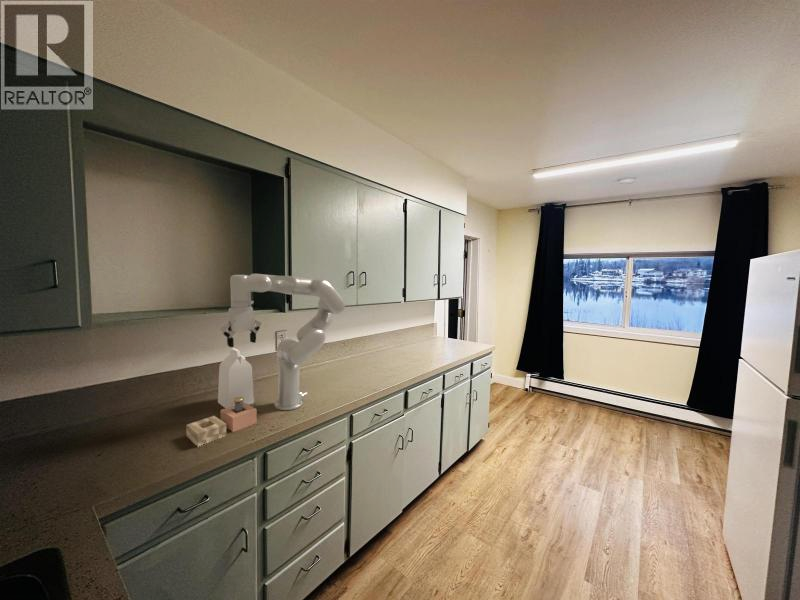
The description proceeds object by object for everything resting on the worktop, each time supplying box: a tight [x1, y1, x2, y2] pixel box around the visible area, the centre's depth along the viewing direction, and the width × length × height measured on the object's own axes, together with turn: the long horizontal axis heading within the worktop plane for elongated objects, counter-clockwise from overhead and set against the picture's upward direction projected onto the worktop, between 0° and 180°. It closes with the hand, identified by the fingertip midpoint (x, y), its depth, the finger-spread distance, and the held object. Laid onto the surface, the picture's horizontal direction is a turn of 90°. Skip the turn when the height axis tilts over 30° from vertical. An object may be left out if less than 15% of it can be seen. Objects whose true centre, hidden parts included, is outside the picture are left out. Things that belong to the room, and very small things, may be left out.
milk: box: [217, 347, 255, 409], centre depth 153 cm, size 12×12×26 cm
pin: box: [234, 397, 244, 413], centre depth 135 cm, size 4×4×11 cm
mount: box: [185, 415, 227, 448], centre depth 124 cm, size 10×10×5 cm
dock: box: [220, 403, 258, 433], centre depth 135 cm, size 10×10×6 cm
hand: (242, 344), depth 138 cm, fingers open, 9 cm apart
